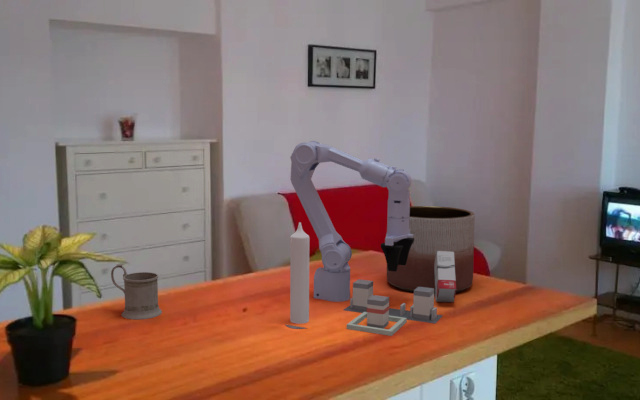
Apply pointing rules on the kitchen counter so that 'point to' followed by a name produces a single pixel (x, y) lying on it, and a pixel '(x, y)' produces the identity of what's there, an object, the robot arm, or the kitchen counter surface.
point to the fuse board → (402, 313)
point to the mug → (139, 294)
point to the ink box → (444, 276)
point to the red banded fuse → (378, 311)
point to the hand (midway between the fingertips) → (397, 267)
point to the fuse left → (361, 294)
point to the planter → (437, 247)
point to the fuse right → (423, 303)
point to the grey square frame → (390, 332)
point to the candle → (299, 278)
